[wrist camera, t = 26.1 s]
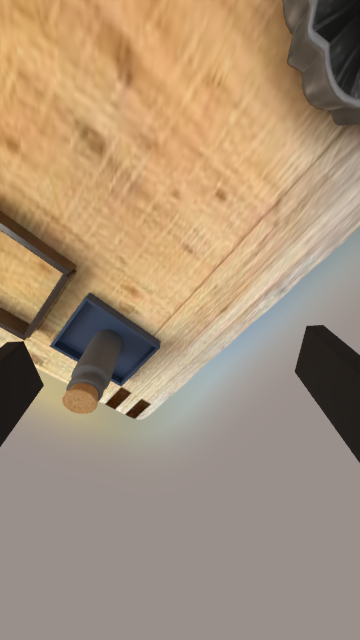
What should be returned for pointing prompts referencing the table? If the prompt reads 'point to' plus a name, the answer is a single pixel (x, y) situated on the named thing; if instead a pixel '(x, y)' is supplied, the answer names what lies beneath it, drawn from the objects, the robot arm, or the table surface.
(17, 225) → the dark brown square frame
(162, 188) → the table surface
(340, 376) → the robot arm
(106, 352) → the bottle
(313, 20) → the bundt pan
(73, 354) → the tray
